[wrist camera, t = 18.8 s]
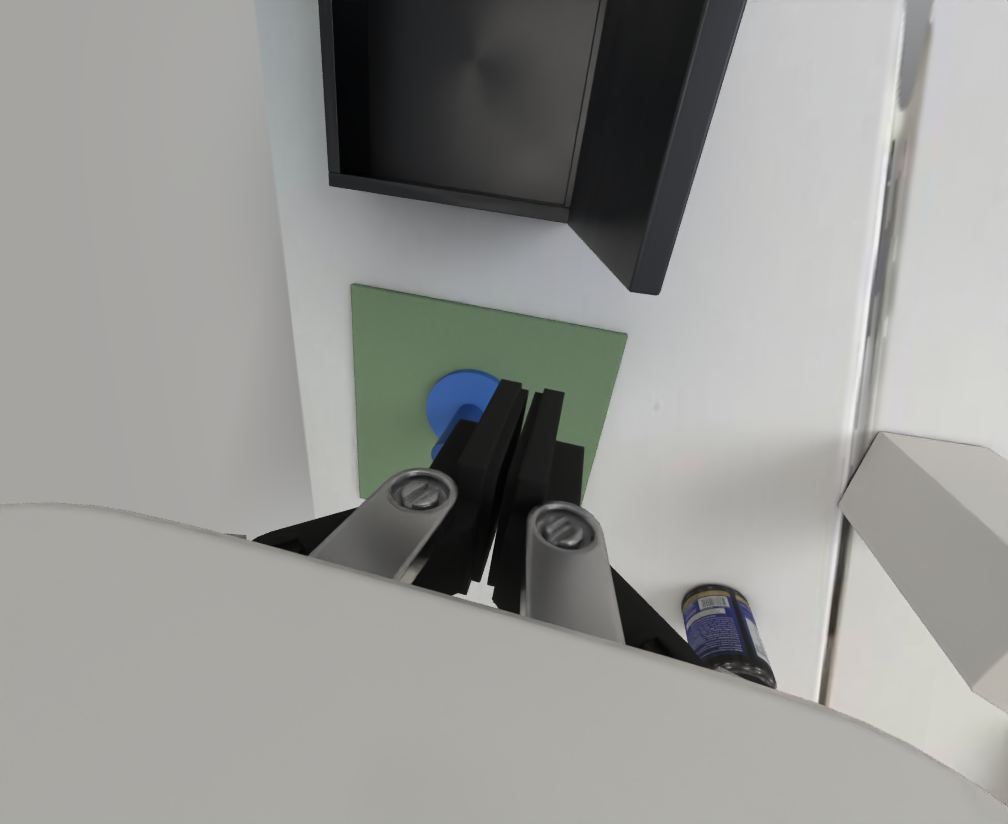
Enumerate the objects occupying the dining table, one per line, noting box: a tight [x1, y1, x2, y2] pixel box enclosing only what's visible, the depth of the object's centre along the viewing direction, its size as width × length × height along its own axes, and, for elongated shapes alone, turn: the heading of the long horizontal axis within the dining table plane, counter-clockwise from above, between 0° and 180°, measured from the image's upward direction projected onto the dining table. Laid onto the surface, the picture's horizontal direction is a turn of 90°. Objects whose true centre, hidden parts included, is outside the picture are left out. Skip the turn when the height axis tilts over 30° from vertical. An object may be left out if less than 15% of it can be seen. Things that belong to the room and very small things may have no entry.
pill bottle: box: [682, 586, 777, 690], centre depth 38 cm, size 6×6×11 cm
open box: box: [318, 0, 607, 223], centre depth 25 cm, size 16×16×5 cm
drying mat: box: [351, 284, 627, 532], centre depth 39 cm, size 22×22×1 cm
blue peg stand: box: [426, 369, 500, 461], centre depth 35 cm, size 8×8×7 cm
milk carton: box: [838, 432, 1008, 714], centre depth 25 cm, size 7×7×19 cm
